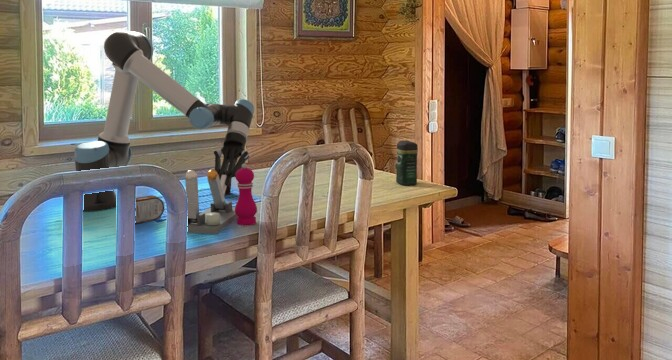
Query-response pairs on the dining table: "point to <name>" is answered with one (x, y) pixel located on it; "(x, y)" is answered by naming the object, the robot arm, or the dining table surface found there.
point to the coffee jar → (406, 163)
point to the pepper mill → (245, 197)
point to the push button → (212, 218)
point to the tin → (148, 208)
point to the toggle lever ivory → (192, 195)
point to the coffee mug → (228, 188)
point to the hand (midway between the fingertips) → (220, 192)
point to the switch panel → (201, 226)
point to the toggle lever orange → (216, 190)
